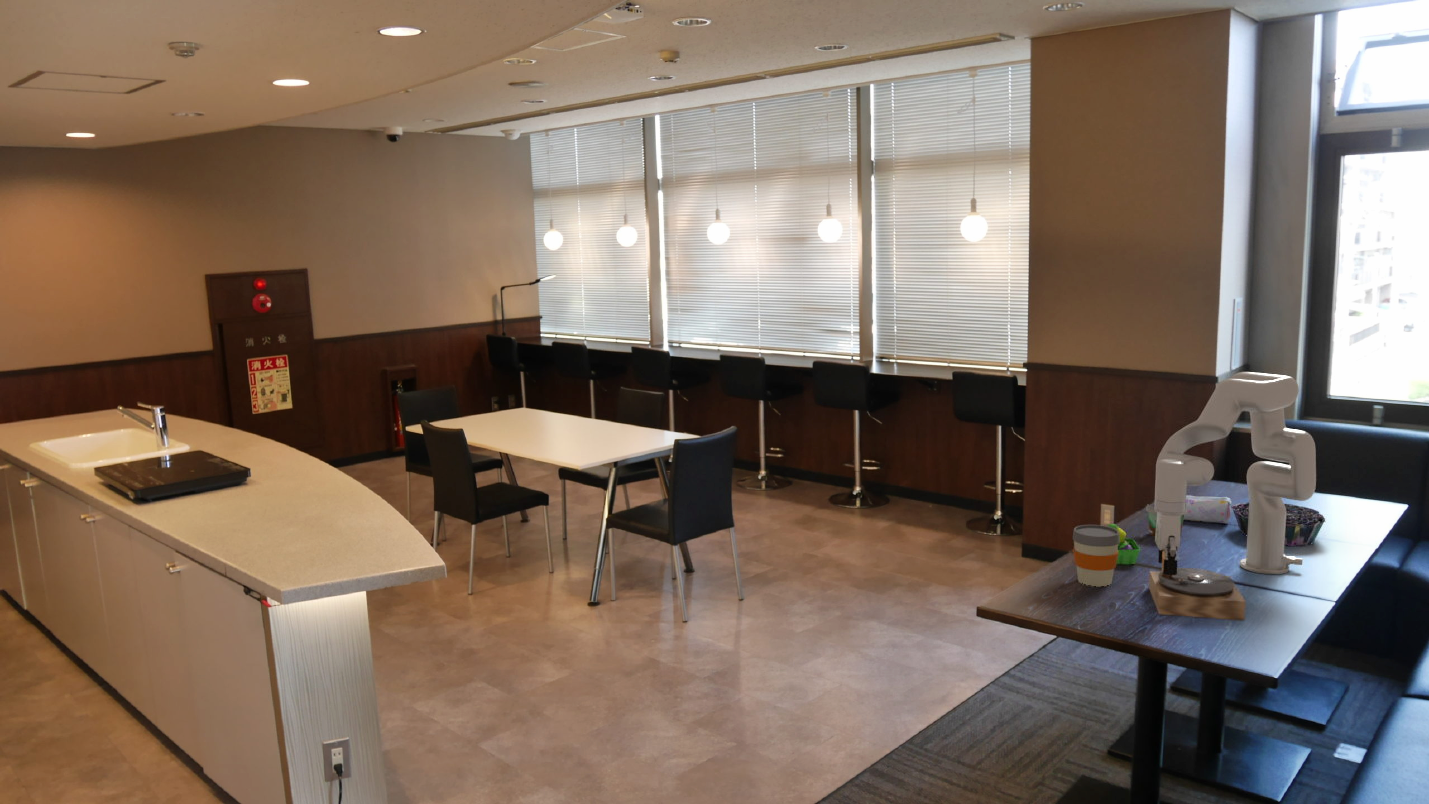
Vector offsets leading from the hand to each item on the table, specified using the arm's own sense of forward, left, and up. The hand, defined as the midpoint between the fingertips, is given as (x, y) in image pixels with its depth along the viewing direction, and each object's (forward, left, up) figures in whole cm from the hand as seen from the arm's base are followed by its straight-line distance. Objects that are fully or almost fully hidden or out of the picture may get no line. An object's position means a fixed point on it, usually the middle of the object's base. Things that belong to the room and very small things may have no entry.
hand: (1167, 568), depth 264 cm
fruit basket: (+8, -35, -9) cm, 37 cm away
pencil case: (-21, -85, -10) cm, 88 cm away
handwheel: (-7, 0, -4) cm, 8 cm away
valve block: (-7, 0, -9) cm, 12 cm away
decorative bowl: (-42, -70, -10) cm, 82 cm away
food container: (-8, -62, -9) cm, 63 cm away
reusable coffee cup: (+17, -13, -9) cm, 23 cm away
